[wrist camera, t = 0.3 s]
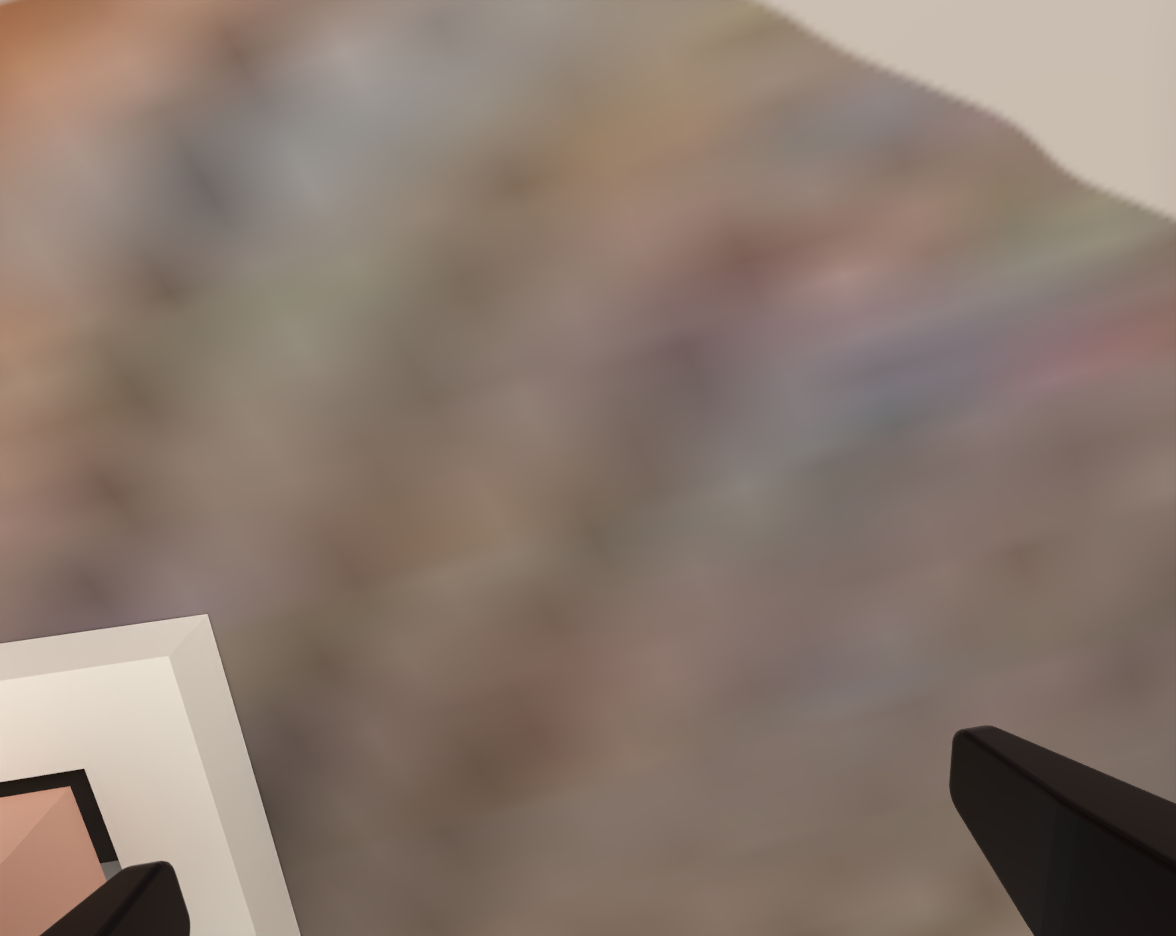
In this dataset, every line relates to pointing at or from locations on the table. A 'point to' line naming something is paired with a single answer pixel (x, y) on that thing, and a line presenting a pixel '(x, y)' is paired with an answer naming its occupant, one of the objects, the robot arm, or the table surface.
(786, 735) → the table surface
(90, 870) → the terracotta key
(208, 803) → the key panel
